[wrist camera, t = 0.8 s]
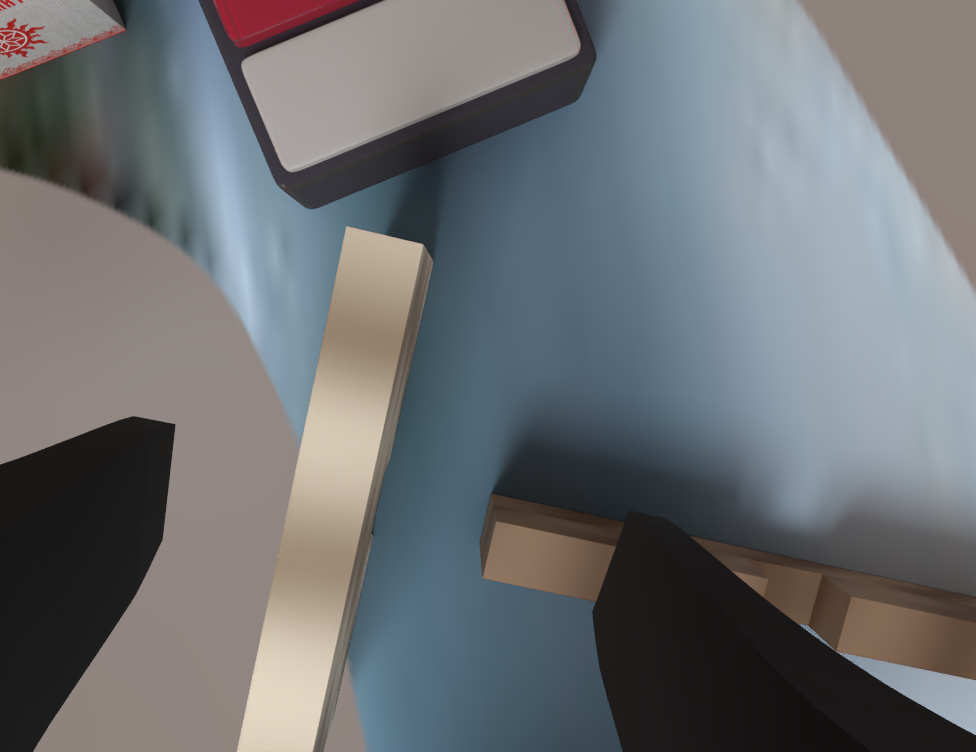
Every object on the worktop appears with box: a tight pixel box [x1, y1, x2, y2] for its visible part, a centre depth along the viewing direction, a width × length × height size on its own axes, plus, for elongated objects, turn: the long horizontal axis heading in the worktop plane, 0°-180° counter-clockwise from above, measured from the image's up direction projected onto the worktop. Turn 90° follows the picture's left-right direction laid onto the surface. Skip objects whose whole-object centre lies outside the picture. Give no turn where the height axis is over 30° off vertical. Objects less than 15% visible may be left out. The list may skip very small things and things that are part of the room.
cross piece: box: [237, 226, 434, 752], centre depth 23 cm, size 18×2×8 cm, turn 167°
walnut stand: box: [480, 494, 976, 680], centre depth 26 cm, size 22×2×4 cm, turn 77°
